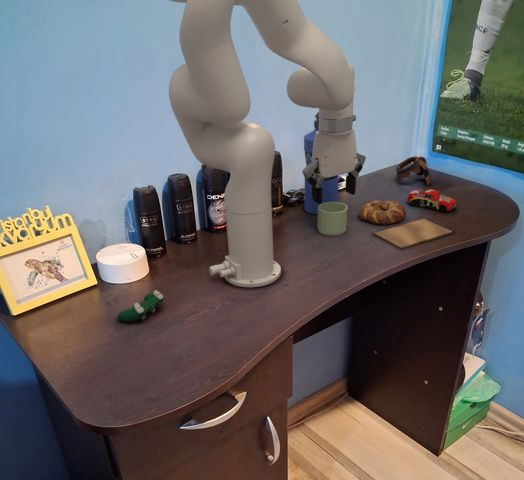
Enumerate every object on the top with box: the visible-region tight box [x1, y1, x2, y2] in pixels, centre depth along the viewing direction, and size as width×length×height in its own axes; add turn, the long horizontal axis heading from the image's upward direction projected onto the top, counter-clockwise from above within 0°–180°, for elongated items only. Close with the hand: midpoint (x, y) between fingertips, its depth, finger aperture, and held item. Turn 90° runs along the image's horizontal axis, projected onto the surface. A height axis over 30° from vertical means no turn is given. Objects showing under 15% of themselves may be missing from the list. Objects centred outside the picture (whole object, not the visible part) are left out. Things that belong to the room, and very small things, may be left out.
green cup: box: [316, 201, 349, 237], centre depth 135 cm, size 7×7×6 cm
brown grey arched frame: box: [395, 155, 431, 186], centre depth 162 cm, size 12×10×8 cm
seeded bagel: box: [358, 199, 407, 226], centre depth 141 cm, size 12×11×4 cm
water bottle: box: [303, 111, 339, 215], centre depth 142 cm, size 9×9×25 cm
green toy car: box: [117, 289, 165, 322], centre depth 107 cm, size 9×4×6 cm
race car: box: [406, 188, 457, 213], centre depth 146 cm, size 13×5×4 cm, turn 50°
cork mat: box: [373, 218, 453, 249], centre depth 133 cm, size 16×10×1 cm, turn 119°
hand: (334, 197), depth 132 cm, fingers open, 9 cm apart
